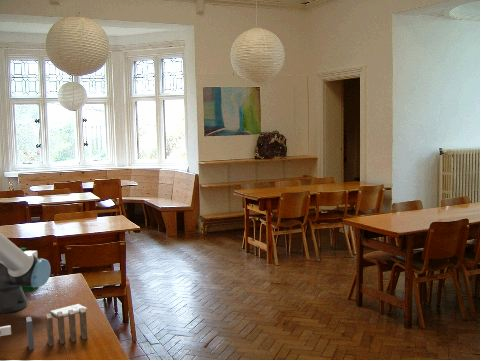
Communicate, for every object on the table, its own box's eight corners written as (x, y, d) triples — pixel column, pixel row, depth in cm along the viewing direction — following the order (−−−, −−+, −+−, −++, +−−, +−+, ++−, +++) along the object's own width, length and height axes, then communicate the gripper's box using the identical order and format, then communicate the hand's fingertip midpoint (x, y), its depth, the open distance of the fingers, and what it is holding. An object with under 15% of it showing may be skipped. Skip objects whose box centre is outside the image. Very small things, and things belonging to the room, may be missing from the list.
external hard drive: (50, 314, 218) (78, 306, 226) (58, 319, 212) (87, 311, 220) (49, 310, 218) (78, 303, 226) (58, 315, 212) (86, 307, 220)
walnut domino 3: (71, 341, 187) (70, 314, 186) (69, 337, 191) (68, 310, 190) (76, 340, 188) (74, 313, 187) (74, 336, 192) (72, 309, 191)
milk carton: (23, 286, 258) (20, 246, 256) (42, 286, 258) (39, 245, 256) (15, 292, 249) (12, 250, 248) (34, 291, 249) (31, 250, 247)
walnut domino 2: (60, 344, 185) (58, 316, 184) (58, 339, 190) (57, 312, 189) (65, 343, 186) (63, 315, 185) (63, 338, 190) (61, 311, 190)
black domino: (29, 350, 181) (27, 321, 180) (28, 345, 185) (25, 317, 184) (34, 349, 182) (32, 321, 181) (32, 344, 186) (30, 316, 185)
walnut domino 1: (49, 346, 184) (47, 318, 183) (47, 341, 188) (45, 314, 187) (54, 345, 184) (52, 317, 183) (52, 340, 189) (50, 313, 188)
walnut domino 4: (83, 339, 189) (81, 312, 188) (80, 335, 193) (79, 308, 192) (87, 338, 189) (85, 311, 188) (85, 334, 194) (83, 307, 193)
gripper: (-66, 347, 176) (10, 333, 186) (-70, 362, 165) (12, 347, 175) (-68, 325, 176) (9, 313, 186) (-72, 339, 164) (10, 325, 174)
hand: (10, 329), depth 180 cm, fingers closed
